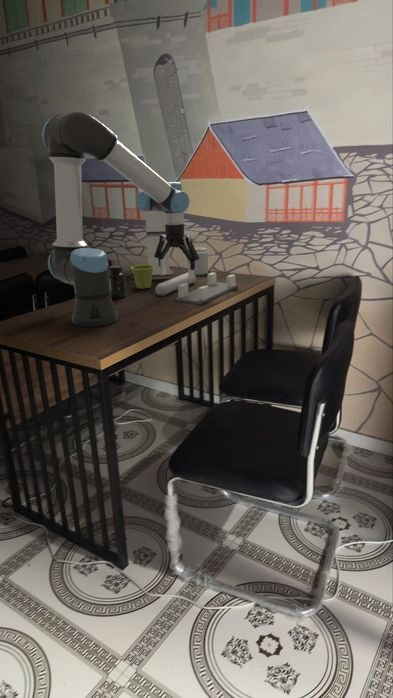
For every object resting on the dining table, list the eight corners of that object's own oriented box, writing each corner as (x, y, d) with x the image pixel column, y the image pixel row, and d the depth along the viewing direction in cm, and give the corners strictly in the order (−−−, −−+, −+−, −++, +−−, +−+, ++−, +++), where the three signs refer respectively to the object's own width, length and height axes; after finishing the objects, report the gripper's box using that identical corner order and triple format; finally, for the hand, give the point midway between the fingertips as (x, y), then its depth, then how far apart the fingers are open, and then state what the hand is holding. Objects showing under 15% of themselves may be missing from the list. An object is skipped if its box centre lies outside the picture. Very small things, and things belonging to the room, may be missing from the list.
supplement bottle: (109, 299, 193) (106, 268, 189) (108, 294, 199) (106, 265, 195) (126, 298, 194) (124, 267, 190) (125, 293, 201) (123, 264, 196)
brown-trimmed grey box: (172, 278, 224) (169, 198, 212) (149, 279, 224) (144, 198, 211) (173, 273, 235) (170, 196, 222) (150, 274, 235) (146, 197, 222)
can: (192, 272, 236) (192, 247, 232) (208, 272, 236) (208, 246, 231) (191, 275, 229) (191, 249, 225) (208, 275, 229) (207, 249, 224)
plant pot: (151, 290, 205) (150, 269, 202) (129, 289, 207) (128, 269, 204) (157, 284, 214) (156, 264, 211) (136, 284, 215) (134, 264, 212)
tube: (165, 288, 193) (197, 274, 213) (154, 282, 194) (187, 269, 214) (162, 300, 195) (194, 285, 215) (151, 294, 197) (184, 280, 217)
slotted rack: (175, 300, 189) (175, 286, 187) (214, 284, 212) (214, 271, 210) (200, 304, 183) (199, 289, 181) (237, 287, 207) (237, 273, 205)
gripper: (206, 223, 192) (207, 276, 200) (154, 221, 205) (158, 271, 213) (196, 225, 186) (198, 281, 194) (143, 223, 199) (147, 275, 207)
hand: (177, 276), depth 203 cm, fingers open, 13 cm apart
